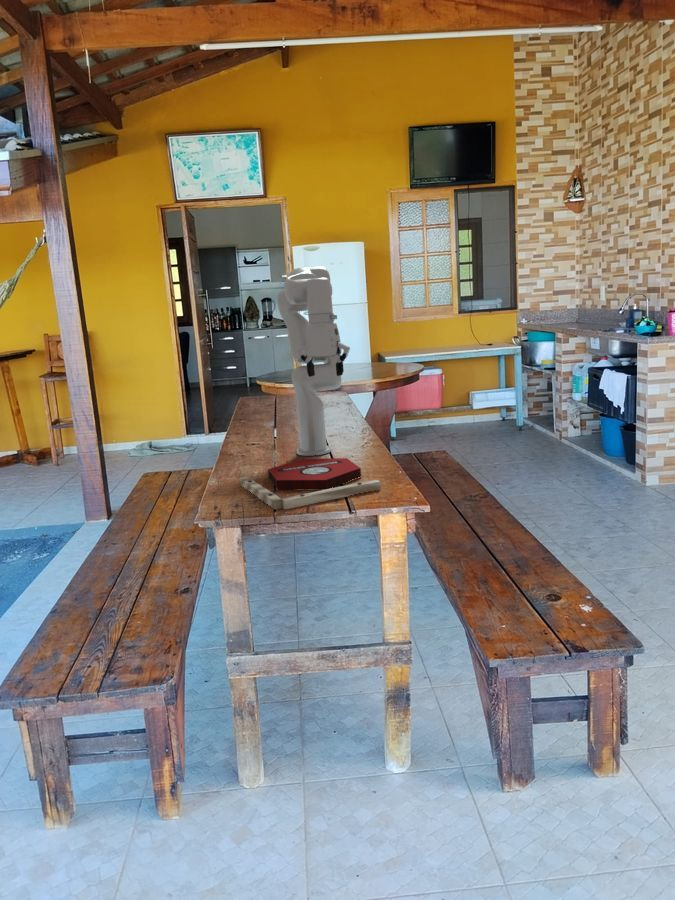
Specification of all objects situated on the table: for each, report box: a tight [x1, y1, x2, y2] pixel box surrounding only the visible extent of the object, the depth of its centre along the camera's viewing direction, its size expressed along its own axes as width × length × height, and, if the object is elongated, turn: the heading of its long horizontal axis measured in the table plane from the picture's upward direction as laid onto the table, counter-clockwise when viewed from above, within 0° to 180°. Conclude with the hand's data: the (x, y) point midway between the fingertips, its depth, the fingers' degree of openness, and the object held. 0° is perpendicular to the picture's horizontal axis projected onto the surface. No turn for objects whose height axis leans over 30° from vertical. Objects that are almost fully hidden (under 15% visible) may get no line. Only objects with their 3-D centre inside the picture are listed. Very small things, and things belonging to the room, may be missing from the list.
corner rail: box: [239, 476, 381, 510], centre depth 221 cm, size 32×32×3 cm
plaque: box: [267, 457, 362, 491], centre depth 231 cm, size 27×4×30 cm
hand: (325, 375), depth 227 cm, fingers open, 9 cm apart
